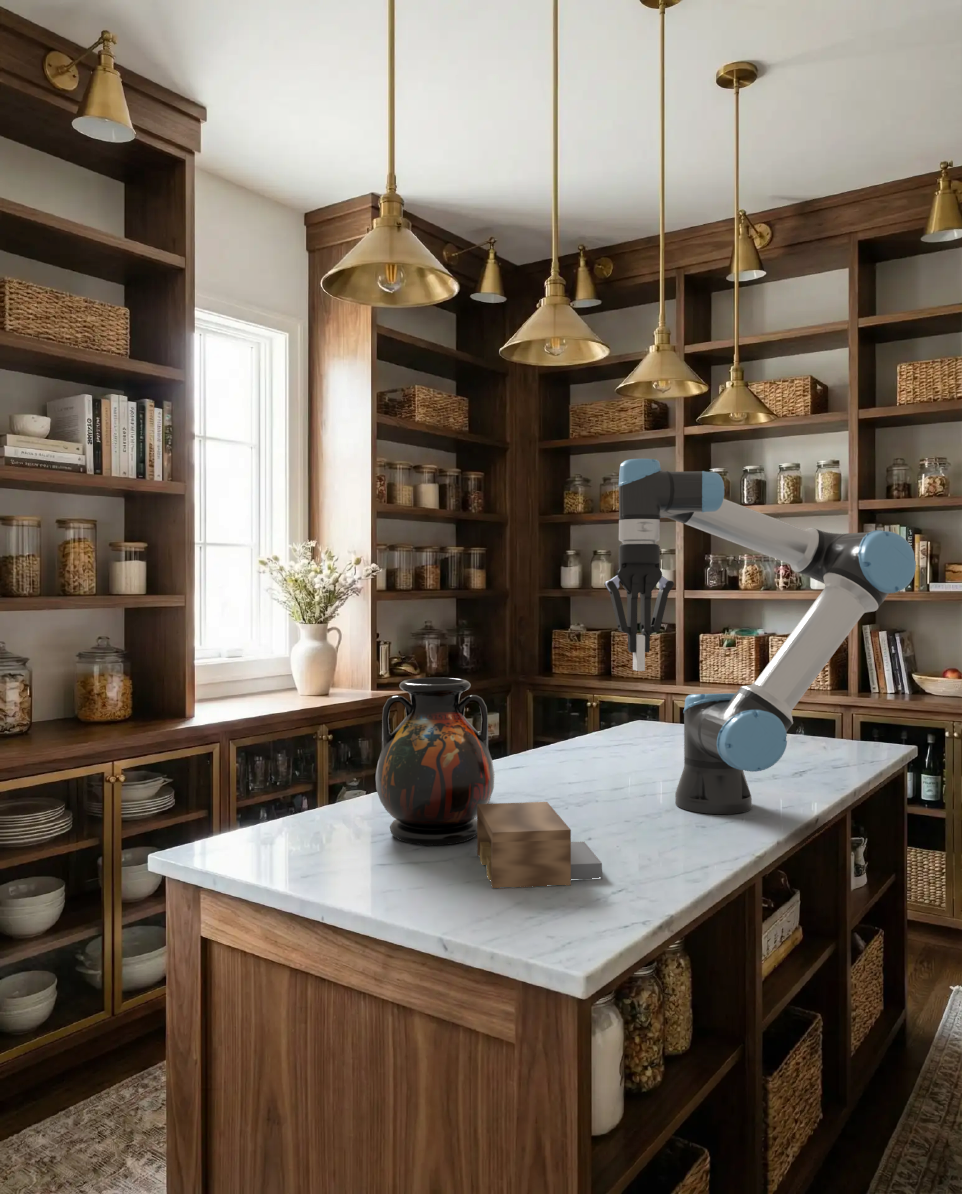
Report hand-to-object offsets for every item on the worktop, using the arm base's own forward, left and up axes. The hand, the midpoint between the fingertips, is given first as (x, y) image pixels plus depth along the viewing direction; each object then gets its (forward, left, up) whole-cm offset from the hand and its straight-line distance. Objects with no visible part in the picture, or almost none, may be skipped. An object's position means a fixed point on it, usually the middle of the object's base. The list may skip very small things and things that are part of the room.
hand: (638, 670), depth 178 cm
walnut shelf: (+26, +22, -29) cm, 45 cm away
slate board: (+22, +22, -30) cm, 44 cm away
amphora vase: (+38, 0, -30) cm, 48 cm away
